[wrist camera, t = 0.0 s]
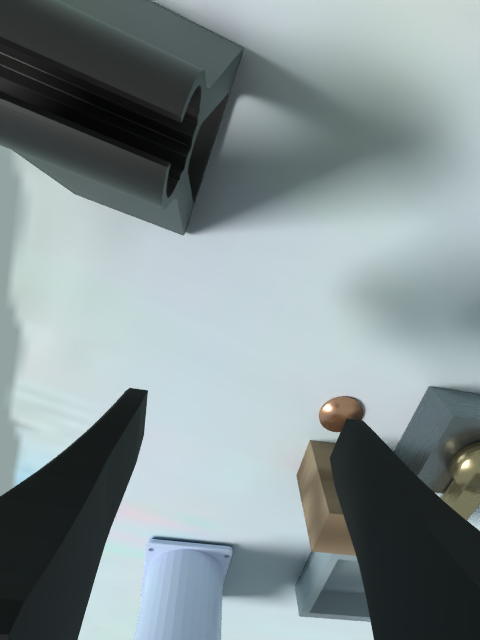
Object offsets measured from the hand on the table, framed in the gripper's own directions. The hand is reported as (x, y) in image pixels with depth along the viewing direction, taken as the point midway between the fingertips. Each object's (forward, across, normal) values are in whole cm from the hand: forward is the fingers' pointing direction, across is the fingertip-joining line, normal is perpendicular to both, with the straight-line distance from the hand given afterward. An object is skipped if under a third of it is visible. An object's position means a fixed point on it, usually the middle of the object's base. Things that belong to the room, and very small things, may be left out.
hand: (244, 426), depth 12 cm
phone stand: (+10, +6, -9) cm, 15 cm away
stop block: (+10, -10, +12) cm, 19 cm away
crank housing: (+10, -14, +7) cm, 19 cm away
